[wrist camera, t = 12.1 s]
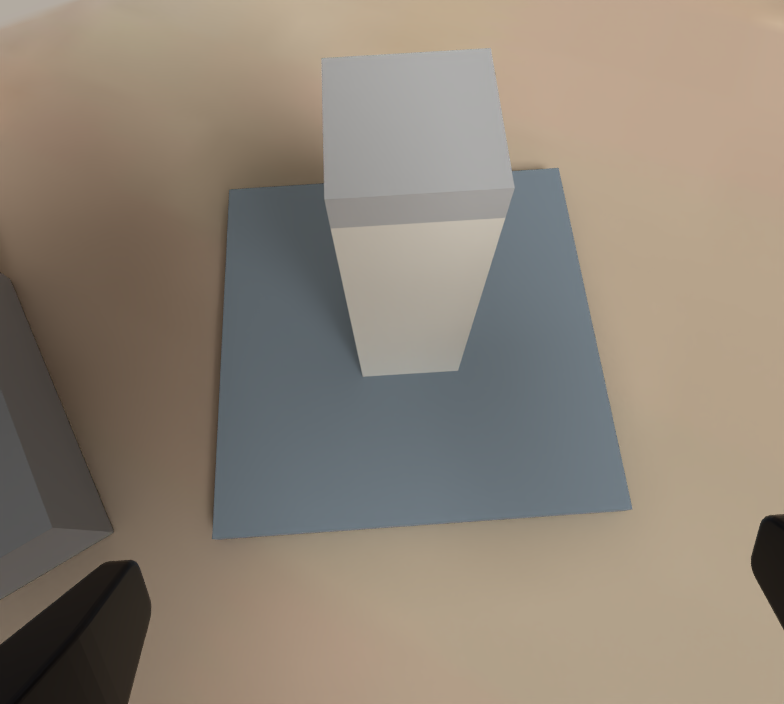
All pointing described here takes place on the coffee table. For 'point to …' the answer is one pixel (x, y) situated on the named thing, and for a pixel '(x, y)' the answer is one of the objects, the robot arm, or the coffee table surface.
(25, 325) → the socket block
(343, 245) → the plug
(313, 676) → the coffee table surface
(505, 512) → the mat
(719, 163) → the coffee table surface
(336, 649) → the coffee table surface
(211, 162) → the coffee table surface
